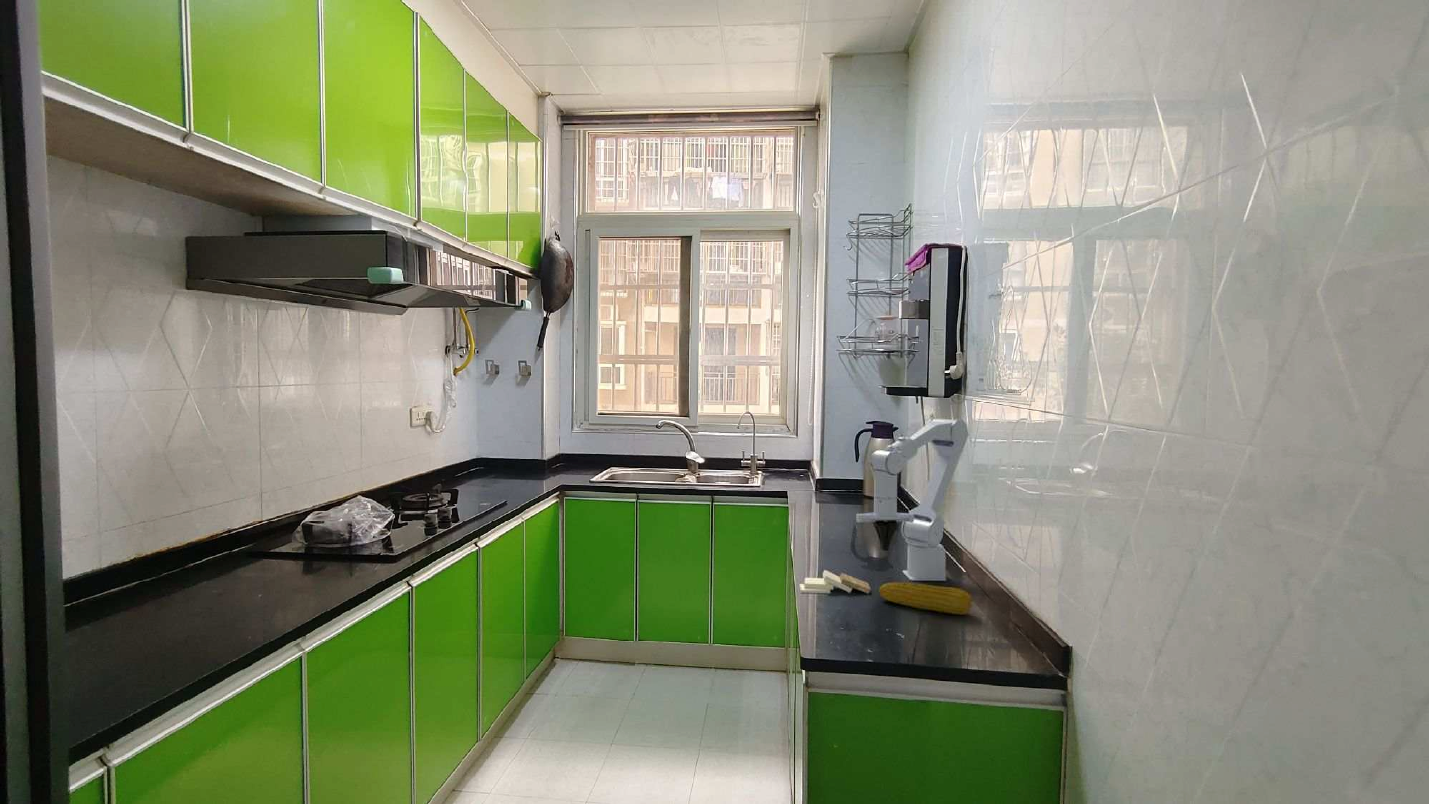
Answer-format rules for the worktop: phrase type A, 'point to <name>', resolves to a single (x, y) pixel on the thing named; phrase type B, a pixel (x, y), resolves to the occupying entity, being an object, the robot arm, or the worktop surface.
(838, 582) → the domino
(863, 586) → the domino
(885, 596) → the food
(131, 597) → the worktop surface
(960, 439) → the robot arm
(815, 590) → the domino
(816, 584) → the domino
